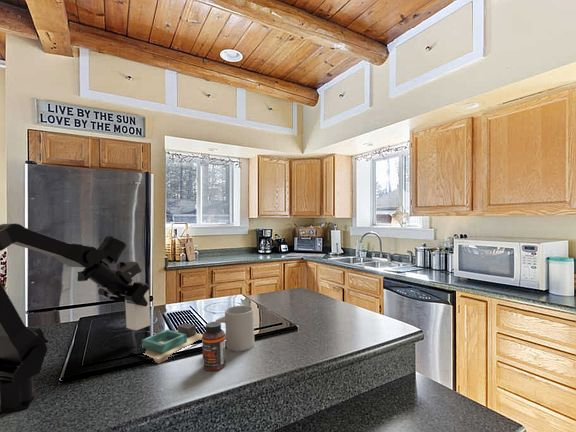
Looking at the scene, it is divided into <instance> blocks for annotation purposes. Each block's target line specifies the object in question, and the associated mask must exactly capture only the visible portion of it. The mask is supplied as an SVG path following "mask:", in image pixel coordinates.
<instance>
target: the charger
mask: <svg viewBox="0 0 576 432" xmlns="http://www.w3.org/2000/svg"><path fill="white" fill-rule="evenodd" d="M144 298H145V299H146V301H147V303H148V304H147V306H141V305H135V304H130V303H126V302H127V301H126V300H125V302H124V303H125V305H124V306H125V323H126V326H125V327H126V329H129V330H132V331H138V330H139V331H140V330H141V329H144V328H146V327H149V326H151V309H150V306H151V304H150V303H151V302H150V288H149V289H148V290H147V292H146V293H145V295H144Z"/></svg>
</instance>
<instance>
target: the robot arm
mask: <svg viewBox="0 0 576 432" xmlns="http://www.w3.org/2000/svg"><path fill="white" fill-rule="evenodd" d="M11 245H14V246H15V245H16V246H18V247H22V248H25V249H28V250H31V251H35V252H38V253H41V254H44V255H48V256H51V257H53V258H55V259H57V261H58V262H60V263H62V264H63V265H66V266H68V267H69V268H83V269H82V270H81V271H77V282H87V281H88V280H90V281H92V282H93V283H95V284H96V285H97V286H96V287H97V288H98V290H97V294H98V295H99V296H100V297H101V298H103V299H109V300H112V301H116V302H120V303H121V302H122V303H125V300H126V301H127V302H126V303H130V304H135V305H141V306H147V304H148V303H147V301H146V299H145V298H144V295H145V293H146V292H147V290H148V289H149V290H150V284H148V283H146V282H144V281H135V282H133V284H131V283H132V281H133V279H132V278H133V277H135V276H136V275H138V274H140V273H141V272H142V269H141V266H140V264H139V263H138V262H137V261H127V262H124V261H119V260H120V258H121V256H122V254H123V253H124V252H125V251H126V249H127V245H126V243H125V242H123V241H121V240H120V239H117V238H114V237H113V236H112V235H106V236H105V237H104V239H103V241H102V242H101V244H100V245H99V247H97V248H96V247H95V246H91V245H88V244H82V243H81V244H80V243H79V244H78V243H71V242H66V241H63V240H61V239H58V238H55V237H52V236H50V235H47V234H44V233H41V232H38V231H35V230H33V229H30V228H29V227H28V228H27V227H24V225H22V224H20V223H1V224H0V252H1V251H3V250H5V249H6V248H9V246H11ZM118 261H119V262H118ZM111 264H112V265H113V264H116V270H115V269H114V268H113V267H111V266H110V265H111ZM48 343H49V340H47V339H46V338H45V336H44V332H43V331H42V329H41V328H40V327H33V326H30V327H29V326H26V324H25V323H24V321H23V320H22V317H21V315H20V314H19V313H18V311H17V309H16V307H15V305H14V303H13V301H12V300H11V298H10V296H9V295H8V293H7V291H6V289H5V287H4V285H3V284H2V282H1V281H0V414H4V413H7V412H13V411H19V410H24V409H28V408H29V407H31V406H32V404H33V403H34V401H35V400H36V399H37V398H38V396H39V395H40V393H41V390H40V389H39V390H34V376H37V375H39V374H41V370H42V366H43V363H44V360H45V357H46V354H47V352H48V351H49V350H48V345H47V344H48Z"/></svg>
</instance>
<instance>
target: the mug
mask: <svg viewBox="0 0 576 432" xmlns="http://www.w3.org/2000/svg"><path fill="white" fill-rule="evenodd" d="M214 322H220V323H221V324H222V323H223V324H224V325H225V348H226V349H227V350H229V351H231V352H245V351H248V350H250V349H252V348H254V346H255V344H256V343H255V324H254V308H253V307H252V306H250V305H249V306H248V305H234V306H231V307H228V308H226V309H225V311H224V316H222V317H219V318H217V319H216V320H215V321H214Z"/></svg>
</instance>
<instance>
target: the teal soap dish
mask: <svg viewBox="0 0 576 432" xmlns="http://www.w3.org/2000/svg"><path fill="white" fill-rule="evenodd" d="M196 329H197V328H196V325H195V324H192V323H191V324H190V323H186V322H184V323H182V324H180V325H177V329H176V330H171V329H165V330H163V331H160V332H158V333H155V334H153V335H150V336H148V337H145V338H143V339H141V345H142V348H145V349H146V351H145V353H143V354H144V355H147V356H149V357H151V358H153V359H154V361H155V362H154V363H157V364H161V363H163V362H165V361H167V360H169V359H168V357H169V356H170V355H172V354H173V353H174V352H177V351H179V350H181V349H182V348H185V347H187V346H189V345H191V344H193V343H194V342H196V341H198V340H200V339H202V335H203V333H198V332H197V330H196Z"/></svg>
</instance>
